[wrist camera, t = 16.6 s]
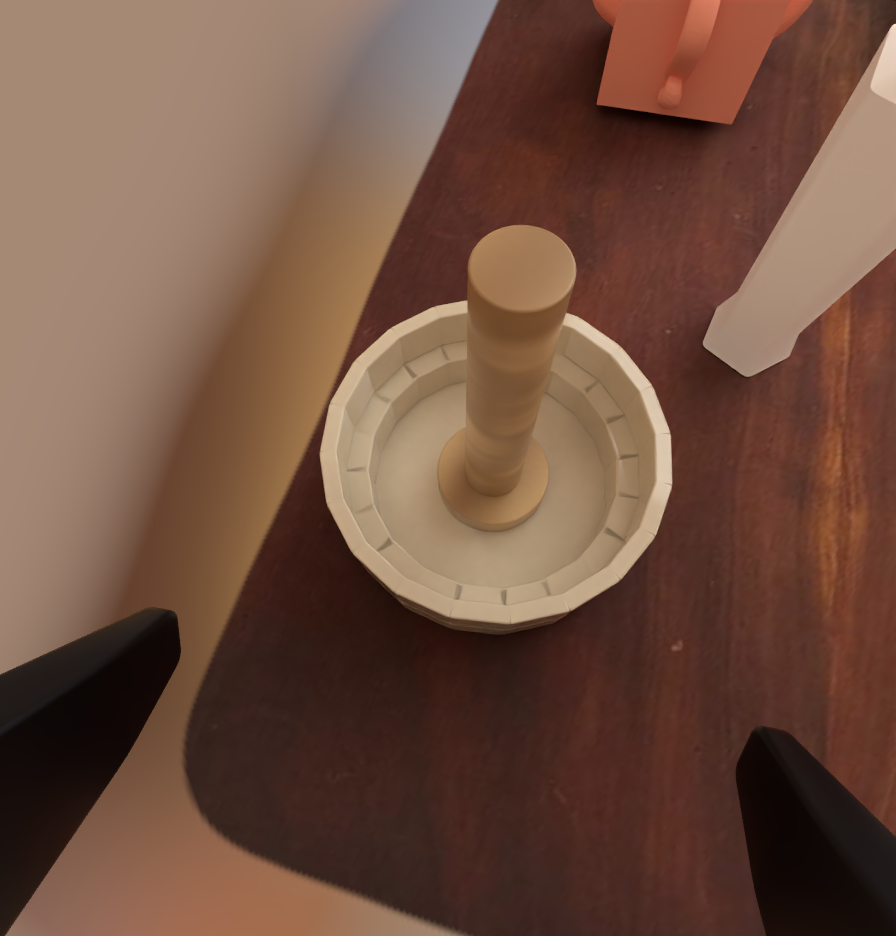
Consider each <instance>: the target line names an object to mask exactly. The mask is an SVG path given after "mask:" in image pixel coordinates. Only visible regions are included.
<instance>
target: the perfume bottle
mask: <svg viewBox="0 0 896 936" xmlns="http://www.w3.org/2000/svg"><path fill="white" fill-rule="evenodd" d="M895 248H896V24H894V25H892V27H891V28H890V30H889V32H888V33H887V35H886V37H885V38H884V40H883V42H882V44H881V45H880V47H879V49H878V51H877V52H876V54H875V56H874V57H873V59H872V61H871V63H870V64H869V66H868V68H867V69H866V71H865V73H864V75H863V76H862V78H861V80H860V82H859V83H858V85H857V87H856V88H855V90H854V92H853V94H852V95H851V97H850V99H849V101H848V102H847V104H846V106H845V107H844V109H843V111H842V113H841V114H840V116H839V118H838V119H837V121H836V123H835V125H834V126H833V128H832V130H831V132H830V133H829V135H828V137H827V138H826V140H825V142H824V144H823V145H822V147H821V149H820V151H819V152H818V154H817V156H816V157H815V159H814V161H813V163H812V164H811V166H810V168H809V169H808V171H807V173H806V175H805V176H804V178H803V180H802V182H801V183H800V185H799V187H798V188H797V190H796V192H795V194H794V195H793V197H792V199H791V201H790V202H789V204H788V206H787V207H786V209H785V211H784V213H783V214H782V216H781V218H780V219H779V221H778V223H777V225H776V226H775V228H774V230H773V232H772V233H771V235H770V237H769V238H768V240H767V242H766V244H765V245H764V247H763V249H762V250H761V252H760V254H759V256H758V257H757V259H756V261H755V263H754V264H753V266H752V268H751V269H750V271H749V273H748V275H747V276H746V278H745V280H744V282H743V283H742V285H741V287H740V288H739V290H738V292H737V293H736V294H734V295H733V296H732V297H730V298H729V299H728V300H726V301H725V302H724V303H722V304H721V305H720V306H718V307H717V309H716V311H715V313H714V316H713V318H712V321H711V323H710V326H709V328H708V331H707V333H706V335H705V338H704V340H703V346H704V347H705V348H706V349H707V350H709V351H710V352H711V353H713V354H714V355H715V356H717V357H718V358H720V359H721V360H722V361H724V362H725V363H727V364H728V365H729V366H731V367H732V368H733V369H735V370H736V371H738V372H739V373H740V374H742V375H744V376H745V377H750V376H753V375H755V374H757V373H759V372H761V371H763V370H764V369H766V368H768V367H770V366H772V365H774V364H776V363H778V362H780V361H782V360H784V359H786V358H788V357H789V356H790V353H791V351H792V349H793V346H794V344H795V342H796V339H797V337H798V335H799V333H800V332H801V331H802V330H804V329H805V328H806V327H807V326H808V325H809V324H810V323H812V322H813V321H814V320H815V319H816V318H817V317H818V316H819V315H821V314H822V313H823V312H824V311H825V310H826V309H827V308H829V307H830V306H831V305H832V304H833V303H834V302H835V301H836V300H838V299H839V298H840V297H841V296H842V295H843V294H844V293H846V292H847V291H848V290H849V289H850V288H851V287H852V286H853V285H855V284H856V283H857V282H858V281H859V280H860V279H861V278H863V277H864V276H865V275H866V274H867V273H868V272H869V271H870V270H872V269H873V268H874V267H875V266H876V265H877V264H878V263H880V262H881V261H882V260H883V259H884V258H885V257H886V256H888V255H889V254H890V253H891V252H892V251H893V250H894V249H895Z"/></svg>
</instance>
